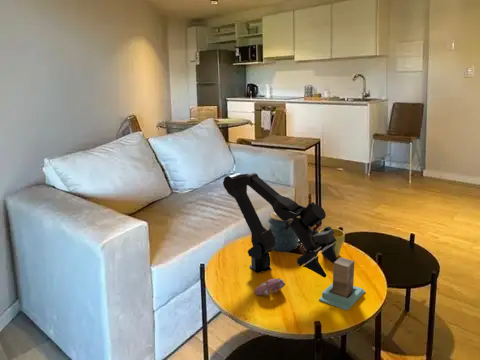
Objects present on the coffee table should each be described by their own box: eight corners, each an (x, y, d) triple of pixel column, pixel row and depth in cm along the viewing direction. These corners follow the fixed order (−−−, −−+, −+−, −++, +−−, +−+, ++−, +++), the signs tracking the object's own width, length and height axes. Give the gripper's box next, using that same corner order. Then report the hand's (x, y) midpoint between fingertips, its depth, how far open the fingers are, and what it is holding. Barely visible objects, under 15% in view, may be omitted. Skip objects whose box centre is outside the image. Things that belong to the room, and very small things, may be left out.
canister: (291, 254, 171) (291, 214, 166) (263, 248, 178) (262, 209, 173) (303, 243, 182) (303, 205, 177) (276, 237, 188) (276, 200, 184)
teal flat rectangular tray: (347, 310, 131) (347, 304, 131) (319, 300, 138) (319, 294, 137) (365, 291, 142) (365, 286, 141) (338, 283, 148) (338, 277, 147)
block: (346, 300, 136) (347, 266, 133) (332, 295, 139) (333, 262, 136) (352, 293, 140) (354, 261, 137) (339, 289, 143) (340, 257, 140)
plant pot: (342, 249, 175) (342, 227, 172) (345, 260, 165) (346, 237, 162) (317, 249, 176) (317, 227, 173) (319, 260, 166) (319, 237, 163)
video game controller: (258, 302, 140) (263, 290, 136) (252, 291, 143) (257, 279, 139) (283, 294, 145) (288, 282, 140) (276, 284, 148) (281, 271, 143)
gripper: (305, 230, 132) (335, 272, 128) (332, 213, 146) (360, 251, 142) (284, 246, 139) (312, 286, 135) (312, 229, 153) (338, 265, 149)
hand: (332, 271), depth 140 cm, fingers open, 9 cm apart
